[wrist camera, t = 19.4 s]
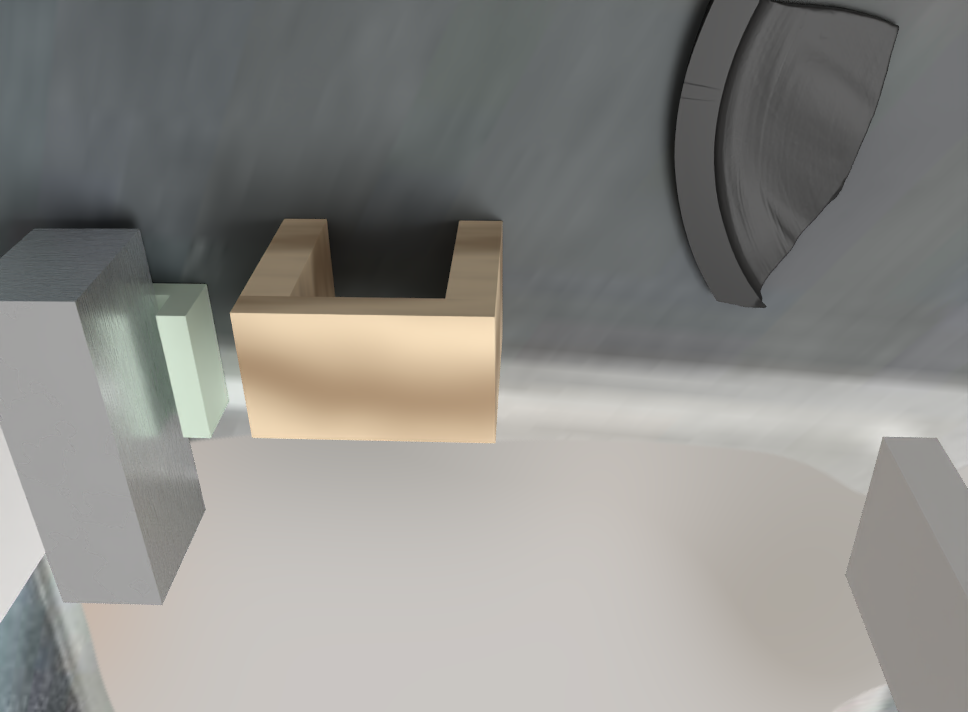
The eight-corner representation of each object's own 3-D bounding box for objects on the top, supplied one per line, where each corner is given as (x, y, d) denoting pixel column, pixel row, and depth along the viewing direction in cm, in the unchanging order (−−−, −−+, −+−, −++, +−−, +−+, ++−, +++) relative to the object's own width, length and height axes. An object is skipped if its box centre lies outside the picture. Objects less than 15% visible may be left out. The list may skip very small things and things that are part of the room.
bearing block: (284, 218, 43) (229, 312, 36) (502, 221, 43) (494, 317, 35) (299, 329, 46) (252, 437, 39) (502, 332, 46) (495, 443, 38)
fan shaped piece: (621, 274, 44) (624, 289, 43) (704, -22, 37) (711, -14, 36) (789, 304, 45) (797, 321, 43) (903, 17, 38) (917, 26, 36)
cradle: (23, 281, 46) (-10, 313, 43) (206, 284, 45) (185, 316, 42) (59, 398, 49) (31, 433, 47) (229, 401, 49) (210, 438, 46)
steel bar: (33, 228, 43) (-48, 300, 37) (139, 228, 42) (74, 301, 37) (117, 508, 52) (63, 602, 46) (205, 509, 51) (162, 604, 46)
